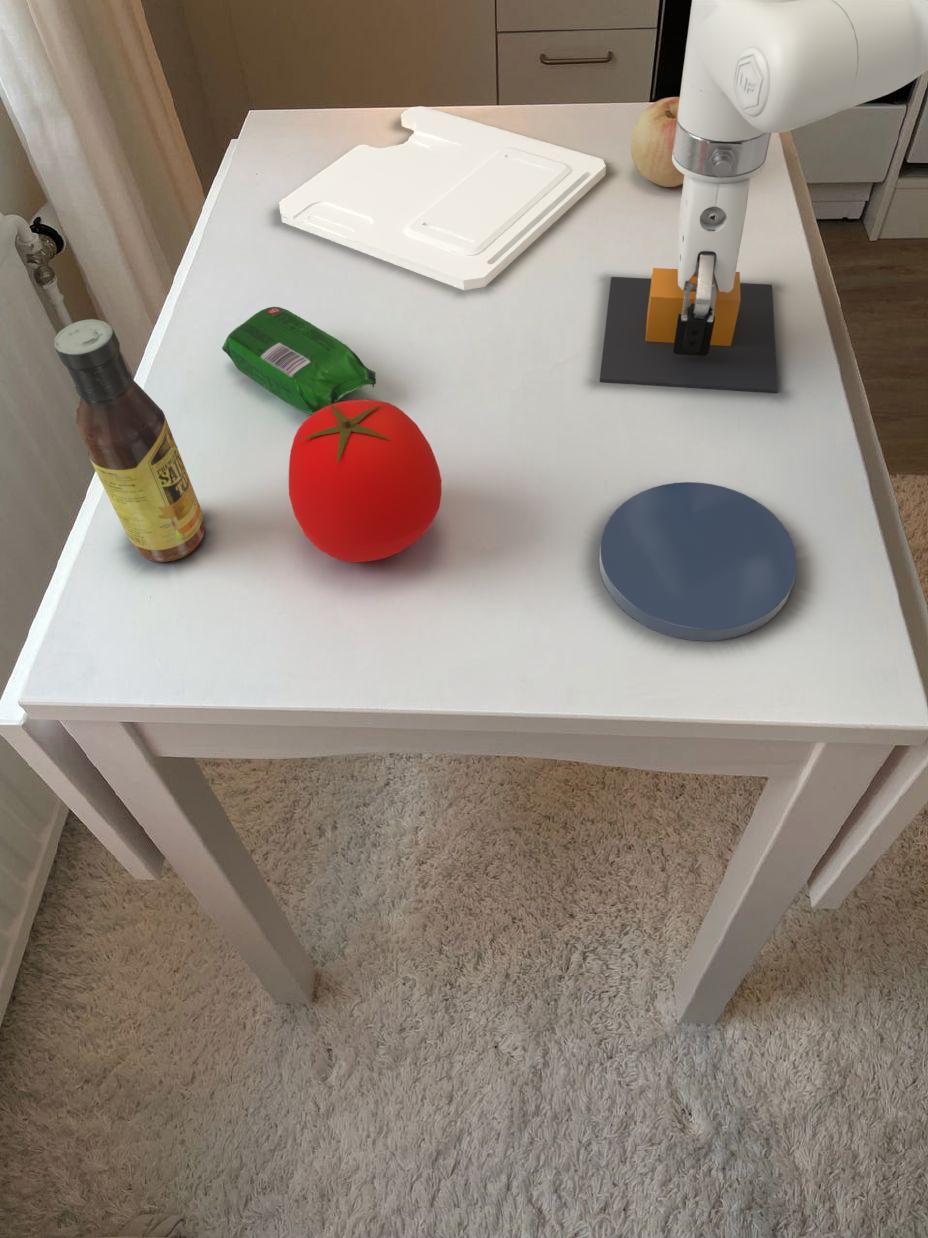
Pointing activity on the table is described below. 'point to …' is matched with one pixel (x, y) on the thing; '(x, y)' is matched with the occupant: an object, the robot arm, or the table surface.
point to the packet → (670, 301)
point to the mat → (657, 364)
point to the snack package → (296, 360)
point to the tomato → (363, 480)
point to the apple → (657, 143)
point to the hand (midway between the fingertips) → (691, 320)
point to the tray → (444, 197)
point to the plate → (697, 561)
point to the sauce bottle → (130, 445)
